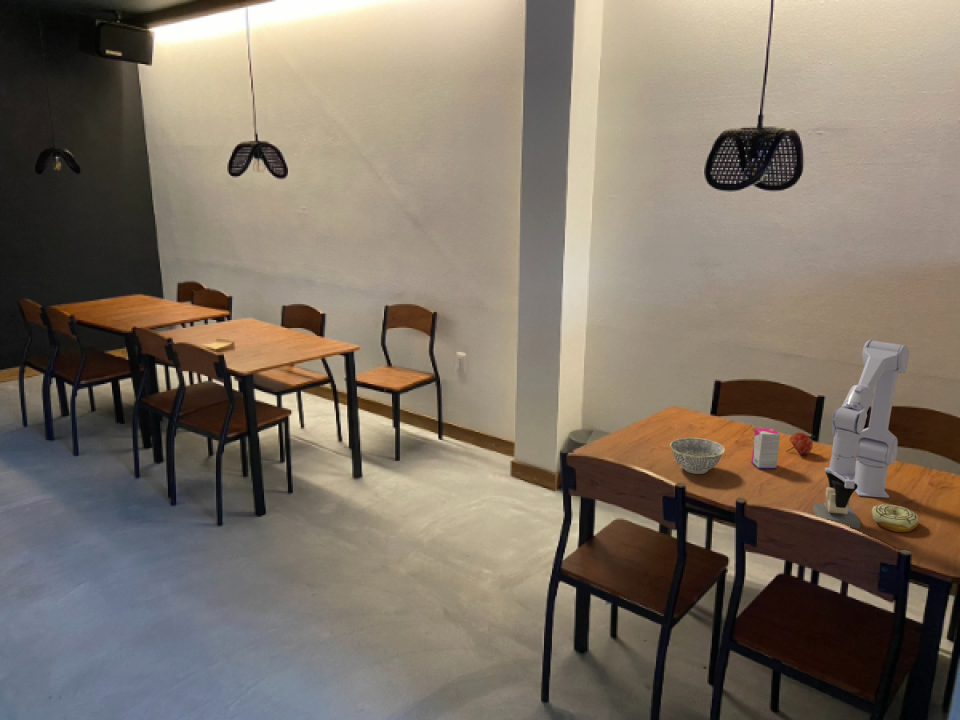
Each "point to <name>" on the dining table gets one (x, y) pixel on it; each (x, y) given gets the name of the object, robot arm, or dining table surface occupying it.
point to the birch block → (833, 502)
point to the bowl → (696, 454)
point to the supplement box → (765, 448)
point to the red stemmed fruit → (801, 443)
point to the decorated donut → (895, 517)
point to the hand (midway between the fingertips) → (837, 502)
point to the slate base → (838, 516)
